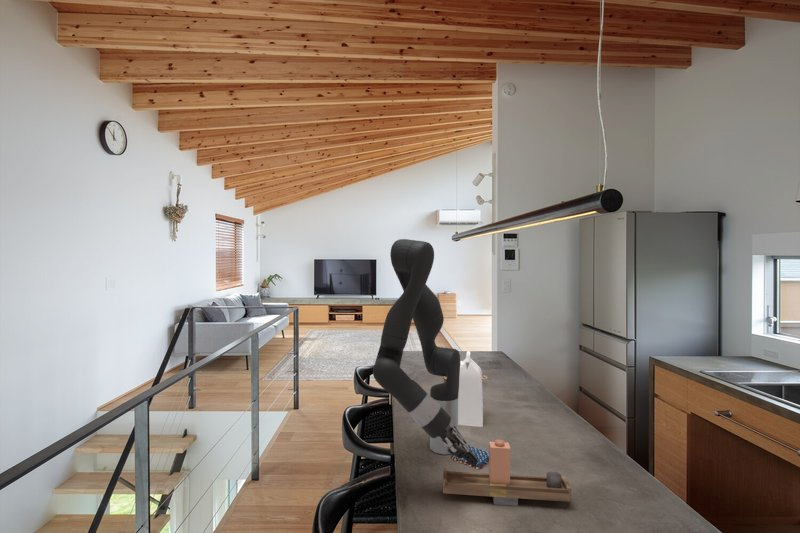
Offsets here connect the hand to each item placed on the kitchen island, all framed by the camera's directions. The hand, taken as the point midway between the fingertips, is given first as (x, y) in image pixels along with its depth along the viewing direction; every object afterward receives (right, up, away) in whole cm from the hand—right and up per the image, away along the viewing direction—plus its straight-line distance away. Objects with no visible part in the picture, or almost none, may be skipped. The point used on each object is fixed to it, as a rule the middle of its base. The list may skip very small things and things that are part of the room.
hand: (475, 463), depth 112 cm
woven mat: (+3, -9, +21) cm, 23 cm away
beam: (+7, -9, -1) cm, 12 cm away
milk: (+6, -8, +53) cm, 54 cm away
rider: (+6, -5, -1) cm, 8 cm away
